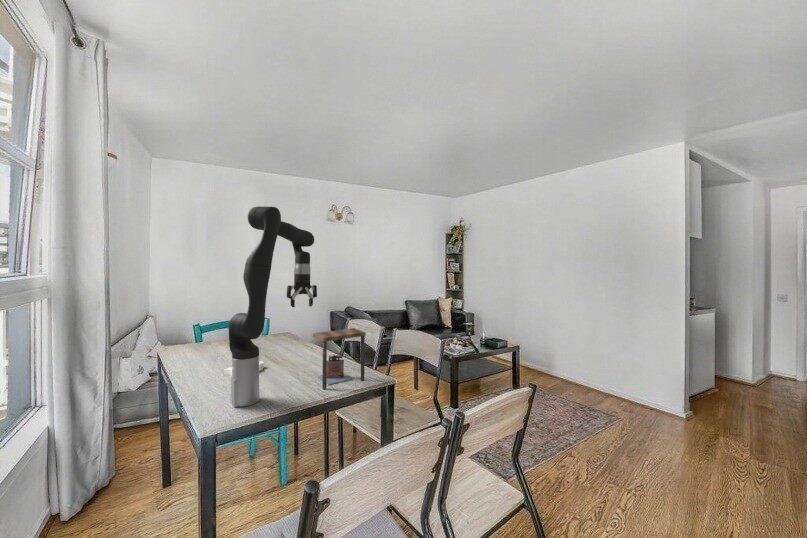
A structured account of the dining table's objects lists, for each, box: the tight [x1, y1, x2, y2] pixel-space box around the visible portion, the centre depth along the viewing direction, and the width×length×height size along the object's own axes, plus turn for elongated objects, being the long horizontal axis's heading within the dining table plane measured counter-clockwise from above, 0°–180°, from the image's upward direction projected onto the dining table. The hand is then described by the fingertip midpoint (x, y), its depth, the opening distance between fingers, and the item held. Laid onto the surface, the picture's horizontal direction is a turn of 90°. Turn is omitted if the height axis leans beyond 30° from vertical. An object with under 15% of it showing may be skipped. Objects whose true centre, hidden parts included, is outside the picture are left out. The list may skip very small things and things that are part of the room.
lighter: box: [327, 354, 345, 379], centre depth 152 cm, size 8×3×10 cm, turn 104°
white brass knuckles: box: [222, 360, 265, 379], centre depth 159 cm, size 3×18×15 cm
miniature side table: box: [312, 327, 367, 390], centre depth 148 cm, size 20×11×22 cm, turn 126°
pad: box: [317, 372, 354, 386], centre depth 152 cm, size 12×12×1 cm
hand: (301, 306), depth 163 cm, fingers open, 8 cm apart
